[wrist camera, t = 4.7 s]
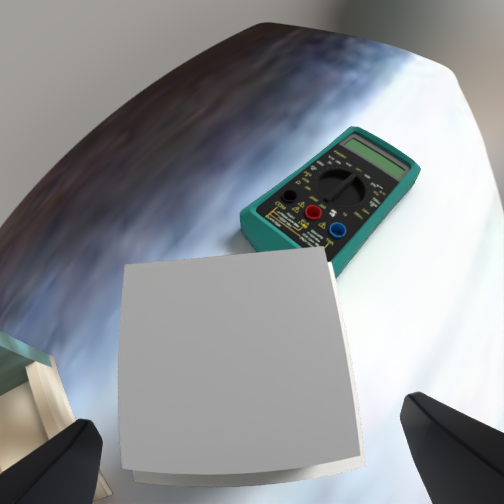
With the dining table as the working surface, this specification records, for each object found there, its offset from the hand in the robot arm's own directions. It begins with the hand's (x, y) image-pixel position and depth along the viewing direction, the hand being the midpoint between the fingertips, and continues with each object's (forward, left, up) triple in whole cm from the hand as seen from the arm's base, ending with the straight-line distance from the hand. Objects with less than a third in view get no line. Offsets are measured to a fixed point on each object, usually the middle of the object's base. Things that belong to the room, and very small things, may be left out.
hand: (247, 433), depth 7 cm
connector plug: (+1, 0, -9) cm, 9 cm away
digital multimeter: (+11, -13, -10) cm, 19 cm away
